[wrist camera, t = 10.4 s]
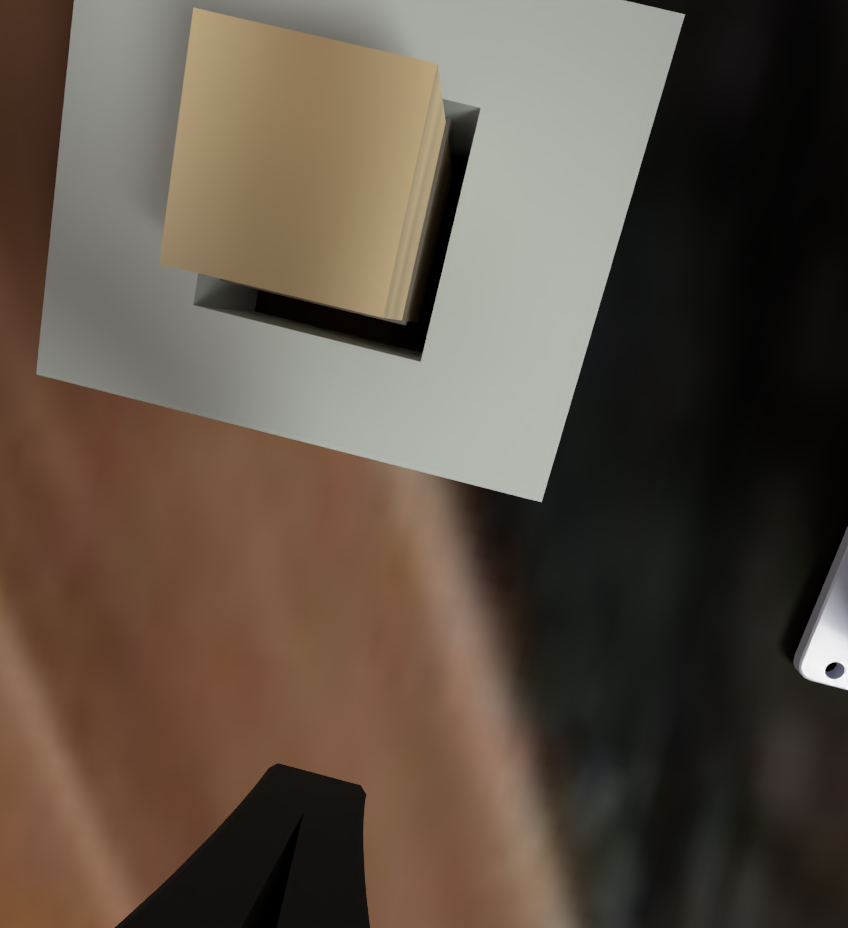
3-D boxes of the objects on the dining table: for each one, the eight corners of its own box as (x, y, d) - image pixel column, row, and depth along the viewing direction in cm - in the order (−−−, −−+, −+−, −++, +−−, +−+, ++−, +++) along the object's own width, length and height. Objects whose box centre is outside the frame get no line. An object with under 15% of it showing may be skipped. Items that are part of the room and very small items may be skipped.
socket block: (633, 92, 16) (684, 14, 12) (526, 465, 18) (541, 502, 14) (179, -15, 16) (86, -124, 12) (129, 365, 18) (36, 374, 15)
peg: (456, 170, 17) (443, 59, 10) (421, 326, 18) (386, 323, 11) (305, 134, 17) (189, 1, 10) (277, 291, 18) (154, 267, 11)
